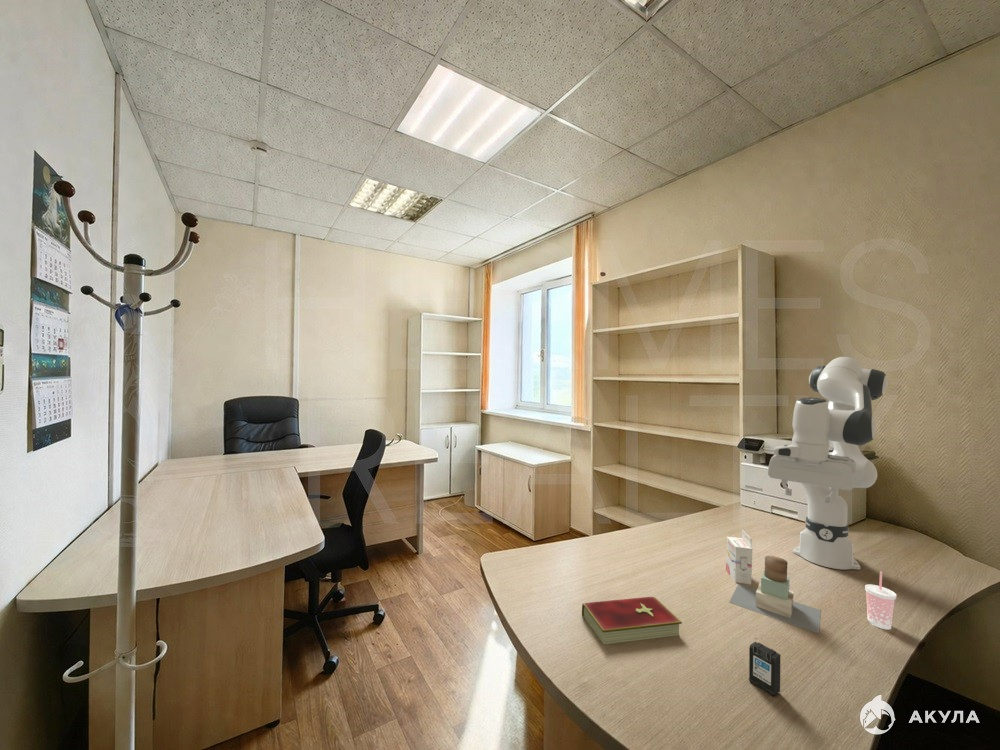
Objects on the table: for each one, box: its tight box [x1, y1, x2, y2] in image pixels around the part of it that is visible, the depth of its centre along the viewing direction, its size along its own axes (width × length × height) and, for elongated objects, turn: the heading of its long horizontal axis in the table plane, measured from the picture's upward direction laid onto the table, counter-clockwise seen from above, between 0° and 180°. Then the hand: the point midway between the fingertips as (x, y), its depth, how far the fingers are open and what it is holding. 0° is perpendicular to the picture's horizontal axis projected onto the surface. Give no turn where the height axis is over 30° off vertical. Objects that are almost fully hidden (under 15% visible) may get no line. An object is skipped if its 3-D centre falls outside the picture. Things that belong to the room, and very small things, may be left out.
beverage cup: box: [864, 570, 897, 630], centre depth 107 cm, size 6×6×14 cm
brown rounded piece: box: [764, 555, 788, 582], centre depth 112 cm, size 5×5×5 cm
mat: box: [728, 583, 822, 635], centre depth 112 cm, size 14×20×1 cm
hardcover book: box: [581, 596, 683, 645], centre depth 102 cm, size 12×21×4 cm, turn 102°
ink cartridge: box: [748, 641, 781, 697], centre depth 83 cm, size 5×2×8 cm, turn 32°
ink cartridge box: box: [725, 529, 753, 585], centre depth 129 cm, size 9×5×15 cm, turn 168°
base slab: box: [756, 580, 795, 618], centre depth 112 cm, size 8×8×4 cm
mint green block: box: [760, 569, 791, 600], centre depth 112 cm, size 6×6×4 cm
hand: (808, 498), depth 119 cm, fingers open, 8 cm apart
